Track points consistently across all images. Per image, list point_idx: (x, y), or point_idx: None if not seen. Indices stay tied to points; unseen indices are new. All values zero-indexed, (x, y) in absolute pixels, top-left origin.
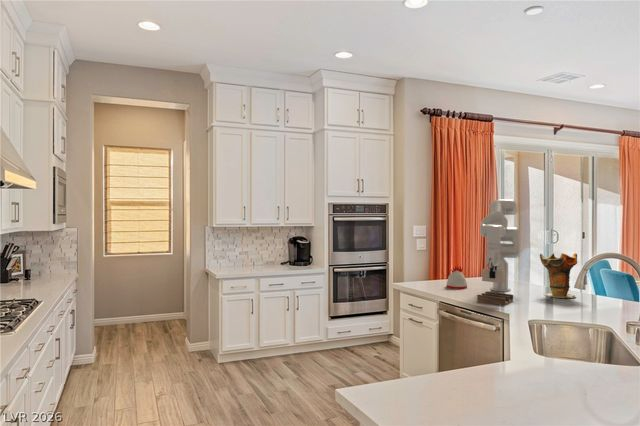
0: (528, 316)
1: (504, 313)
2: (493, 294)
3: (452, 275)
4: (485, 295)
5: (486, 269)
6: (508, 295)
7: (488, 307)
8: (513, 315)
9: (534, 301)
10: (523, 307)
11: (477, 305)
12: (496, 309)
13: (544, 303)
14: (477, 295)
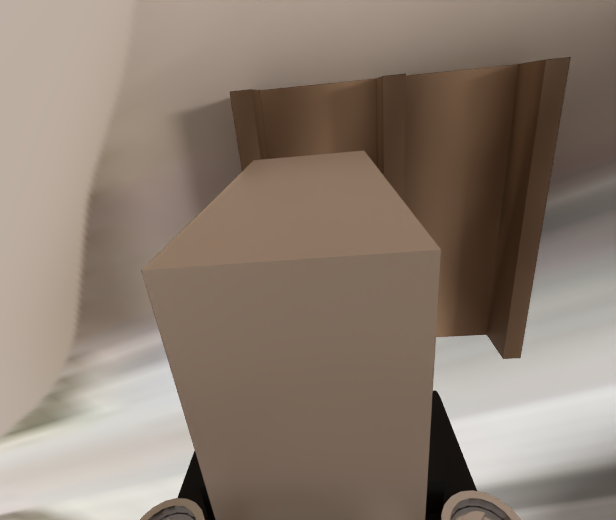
0: (106, 494)
1: (52, 401)
2: (519, 168)
3: None
4: (381, 131)
5: (206, 439)
6: (503, 319)
7: (117, 270)
8: (55, 445)
9: (586, 421)
10: None
11: (105, 172)
12: (108, 333)
13: (543, 474)
14: (231, 95)
